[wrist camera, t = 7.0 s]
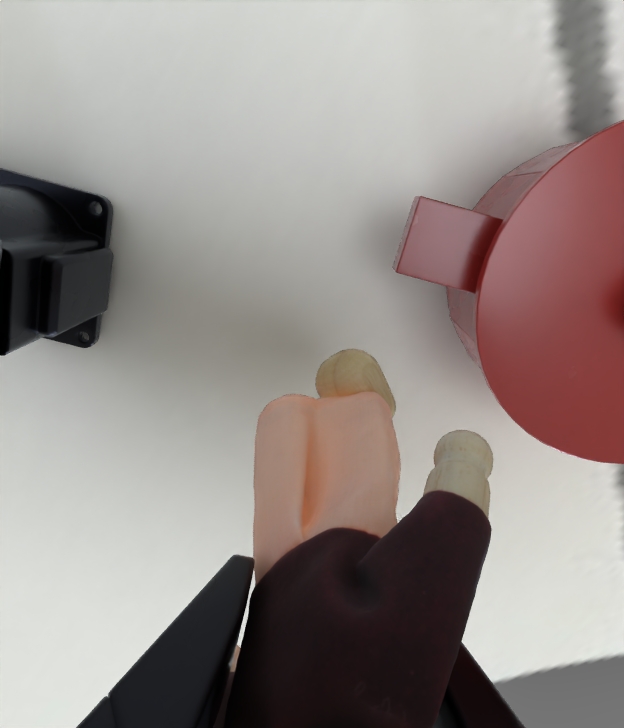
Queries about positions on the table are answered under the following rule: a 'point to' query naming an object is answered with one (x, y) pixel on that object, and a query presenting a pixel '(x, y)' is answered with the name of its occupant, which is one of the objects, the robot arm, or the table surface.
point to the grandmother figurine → (354, 563)
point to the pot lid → (561, 303)
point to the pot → (463, 240)
